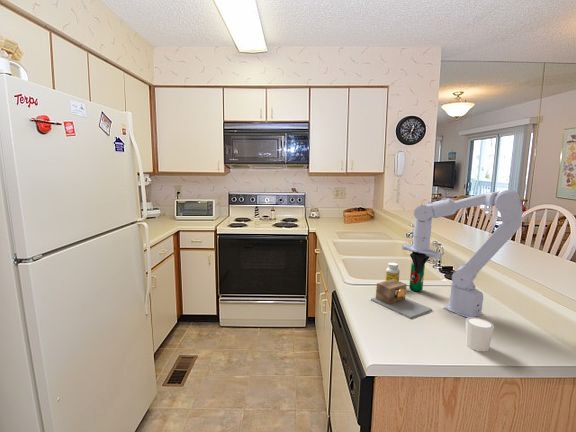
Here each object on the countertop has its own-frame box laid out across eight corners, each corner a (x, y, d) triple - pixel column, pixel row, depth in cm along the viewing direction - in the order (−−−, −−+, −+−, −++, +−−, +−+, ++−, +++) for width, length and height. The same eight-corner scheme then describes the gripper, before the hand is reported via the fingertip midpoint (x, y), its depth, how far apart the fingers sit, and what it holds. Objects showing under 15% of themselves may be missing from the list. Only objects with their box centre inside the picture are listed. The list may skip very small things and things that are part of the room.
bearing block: (405, 299, 118) (406, 284, 117) (388, 304, 113) (389, 288, 112) (392, 294, 123) (393, 279, 122) (375, 298, 118) (376, 283, 117)
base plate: (432, 310, 111) (432, 309, 111) (410, 318, 104) (410, 316, 104) (392, 294, 125) (392, 292, 125) (370, 300, 118) (371, 298, 118)
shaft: (405, 299, 115) (406, 288, 114) (398, 301, 113) (399, 290, 112) (383, 289, 123) (384, 280, 123) (376, 291, 121) (377, 281, 120)
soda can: (423, 293, 127) (426, 263, 125) (410, 291, 128) (412, 262, 126) (421, 288, 132) (423, 260, 130) (408, 287, 133) (410, 259, 131)
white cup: (457, 339, 92) (460, 316, 91) (480, 339, 93) (482, 316, 91) (473, 353, 85) (476, 328, 84) (497, 352, 86) (500, 328, 85)
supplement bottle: (399, 285, 134) (401, 263, 133) (396, 289, 130) (398, 266, 129) (387, 282, 137) (388, 261, 136) (383, 286, 133) (384, 264, 131)
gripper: (398, 234, 121) (395, 268, 123) (433, 242, 109) (429, 280, 111) (410, 232, 125) (406, 265, 127) (445, 240, 113) (441, 277, 115)
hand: (418, 272), depth 119 cm, fingers closed
